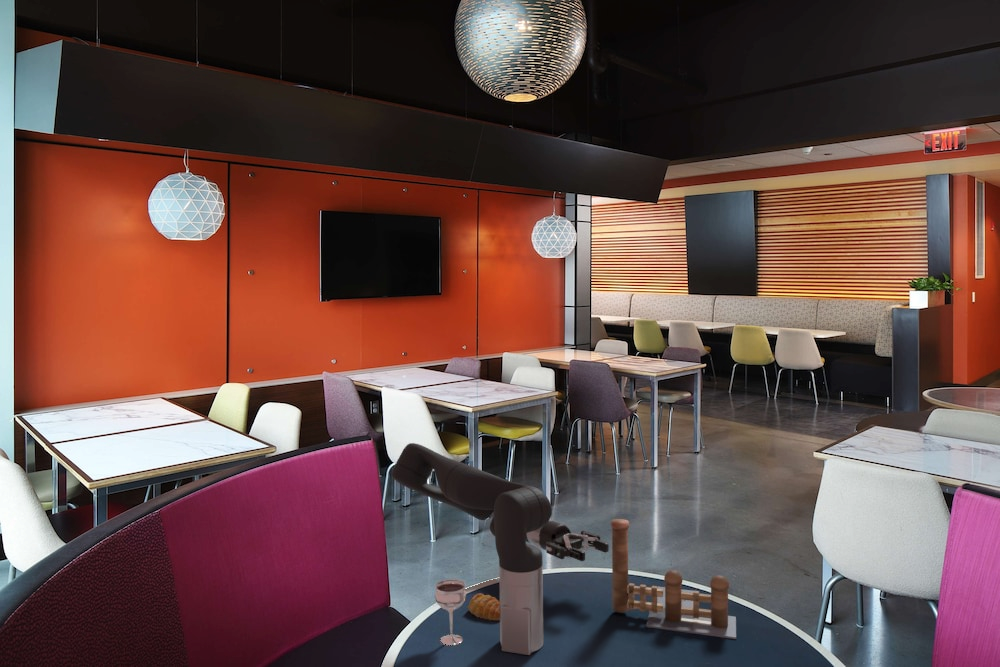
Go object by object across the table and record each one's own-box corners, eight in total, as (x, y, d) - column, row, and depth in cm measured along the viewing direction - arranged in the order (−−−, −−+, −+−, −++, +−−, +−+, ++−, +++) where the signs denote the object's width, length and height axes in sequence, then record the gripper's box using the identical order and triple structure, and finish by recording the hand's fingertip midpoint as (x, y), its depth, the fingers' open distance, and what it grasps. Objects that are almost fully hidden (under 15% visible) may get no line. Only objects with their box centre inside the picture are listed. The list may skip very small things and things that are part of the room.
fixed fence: (728, 631, 152) (729, 580, 151) (663, 622, 156) (663, 573, 156) (728, 623, 156) (729, 573, 155) (665, 615, 160) (665, 566, 159)
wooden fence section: (663, 610, 160) (663, 522, 159) (662, 618, 156) (662, 528, 155) (613, 604, 164) (612, 518, 163) (610, 611, 160) (609, 523, 159)
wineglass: (447, 651, 145) (446, 595, 144) (429, 639, 150) (428, 585, 150) (473, 640, 149) (472, 586, 149) (455, 629, 155) (454, 576, 154)
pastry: (513, 615, 162) (513, 599, 161) (494, 626, 156) (494, 609, 156) (483, 604, 168) (483, 588, 167) (464, 614, 163) (464, 598, 162)
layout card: (736, 639, 148) (736, 636, 148) (646, 626, 154) (646, 624, 154) (735, 597, 169) (735, 595, 169) (656, 587, 175) (656, 585, 175)
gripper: (567, 542, 183) (615, 560, 171) (528, 556, 174) (575, 575, 162) (567, 515, 183) (615, 530, 171) (528, 526, 173) (575, 544, 161)
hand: (596, 552), depth 166 cm, fingers open, 8 cm apart
